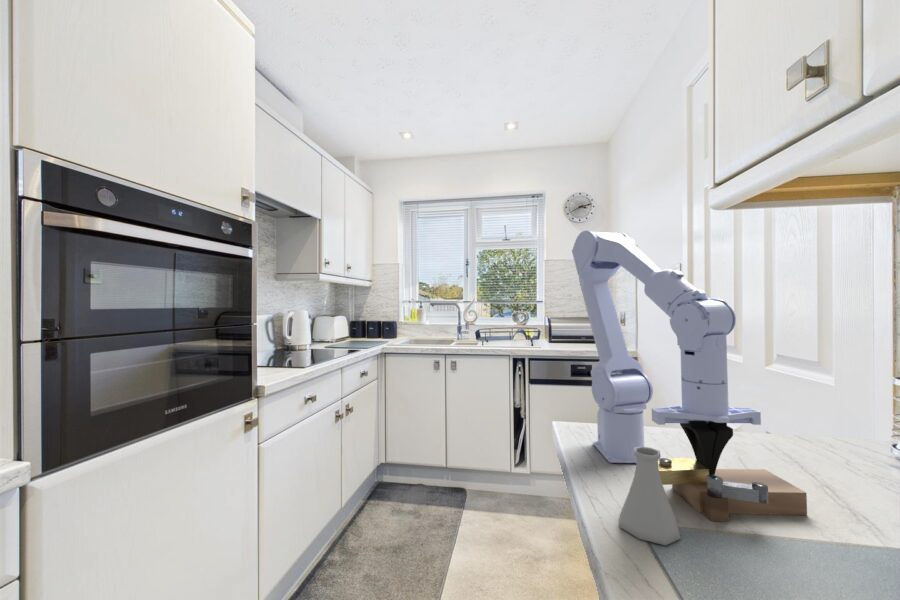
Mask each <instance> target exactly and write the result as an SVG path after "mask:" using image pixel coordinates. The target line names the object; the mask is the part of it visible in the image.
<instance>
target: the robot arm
mask: <svg viewBox="0 0 900 600" xmlns="http://www.w3.org/2000/svg"><path fill="white" fill-rule="evenodd" d="M572 247H573V248H572V250H571V252H572V256H573V257H572V258H573V260H574V264H575V269H576V272H577V275H578V280H579V281H578V282H579V284H580V285H579V286H580V290H581V292H582V298H583V301H584V305H585V309H586V312H587V316H588V321H589V324H590V328H591V332H592V335H593V340H594V343H595V347H596V351H597V355H598V359H599V360H598V361H597V363H596V364H595V365H594V366H593V367H592V369H591V370H590V376H591V393H592V398H593V399H594V401H595V403H596V404H597V405H598V411H597V416H596V417H597V418H596V419H597V440H596V441H595V440H594V441H593V442H592V444H593V445H594V446H595V447H596V448H597V450H598V451H599V453H601V455H602V456H603V457H604V458H605V459H606V460H607V462H608V463H610V464H611V463H612V464H614V463H615V464H636V456H635V455H634V448H635V447H639V446H643V447H645V425H644V423H645V422H644V420H645V419H644V410H646V409H647V404H649V402H651V400H652V399H653V396H654V395H653V394H654V389H653V385H652V382H651V380H650V378H649V377H648V376H647V374H646V373H645V371H644V367H643V365H642V363H640V362H639V361H638V360H636V359H635V358H633V357H632V356H630V354H629V351H628V347H627V344H626V340H625V336H624V334H623V331H622V326H621V323H620V319H619V316H618V313H617V309H616V305H615V303H614V299H613V295H612V292H611V291H612V290H611V288H610V285H609V281H610V278H611V277H613V276H615V274H616V273H617V272H618V271H619V269H620V268H621V267H622V268H623V269H625V270H626V271H627V272H629V273H630V274H631V275H632V276H633V277H635V279H638V281H640V282H641V283H643V284H644V289H643V290H644V294H645V296H646V297H648V298H649V299H650V301H652V302H653V303H654V304H655V305H656V306H657V307H658V308H659V309H660V310H661V311H663V312H664V313H665V314H666V315H667V316H668V317H669V325H670V327H671V330H672V331H673V333H674V334H675V336H676V339H677V340H676V341H677V346H678V347H679V350H680V379H681V405H673V406H665V407H657V408H656V407H654V408H653V407H652V408H651V421H652V422H654V423H655V424H657V425H660V426H662V425H663V426H664V425H666V424H679V425H680V427H681V428H682V430H683V432H684V433H685V435H686V438H687V440H689V443H690V446H691V449H692V451H693V453H694V457H695V460H696V461H697V462H699V463H700V464H702V465H703V466H705V467H706V468H708V469H709V475H715V471H716V469H718V468H717V467H718V463H719V460H720V458H721V456H722V453H723V450H724V449H725V447H726V446H727V444H728V443H729V441H730V440H731V439H732V438H733V436H734V429H733V428H732V427H730V426H728V424H751V425H754V426H755V425H757V426H761V425H762V419H761V418H762V416H761V411H760V410H757V409H754V408H752V407H733V406H729V387H728V385H729V383H728V382H729V380H728V379H729V378H728V376H729V375H728V350H727V349H728V347H727V346H728V345H727V335H729V334H730V333H731V332H733V330H734V328H735V326H736V322H737V321H736V319H737V317H736V314H735V311H734V310H733V308H732V307H731V306H730V305H729V304H728V302H727V301H726V300H724V299H721V298H710V297H708V296H707V292H705V291H704V290H702V289H698V288H696V287H695V286H694V285H693V284H692V283H690V282H689V281H688V280H687V279H685V278H684V276H685V274H684V273H683V272H682V271H680V270H674V269H661V268H660V267H658V266H657V264H655V263H654V262H653V261H652V260H651V259H650V258H649V257H648V256H647V255H646V254H645V253H644V252H643V251H642V250H641V249H640V248H639V247H637V246H636V244H635V239H633V238H631V237H629V236H628V234H627V233H625V232H621V231H620V232H606V231H605V232H602V231H592V230H583V231H581V232H580V233H578V235H577V237H576V239H575V242H574V245H573V246H572Z"/></svg>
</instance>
